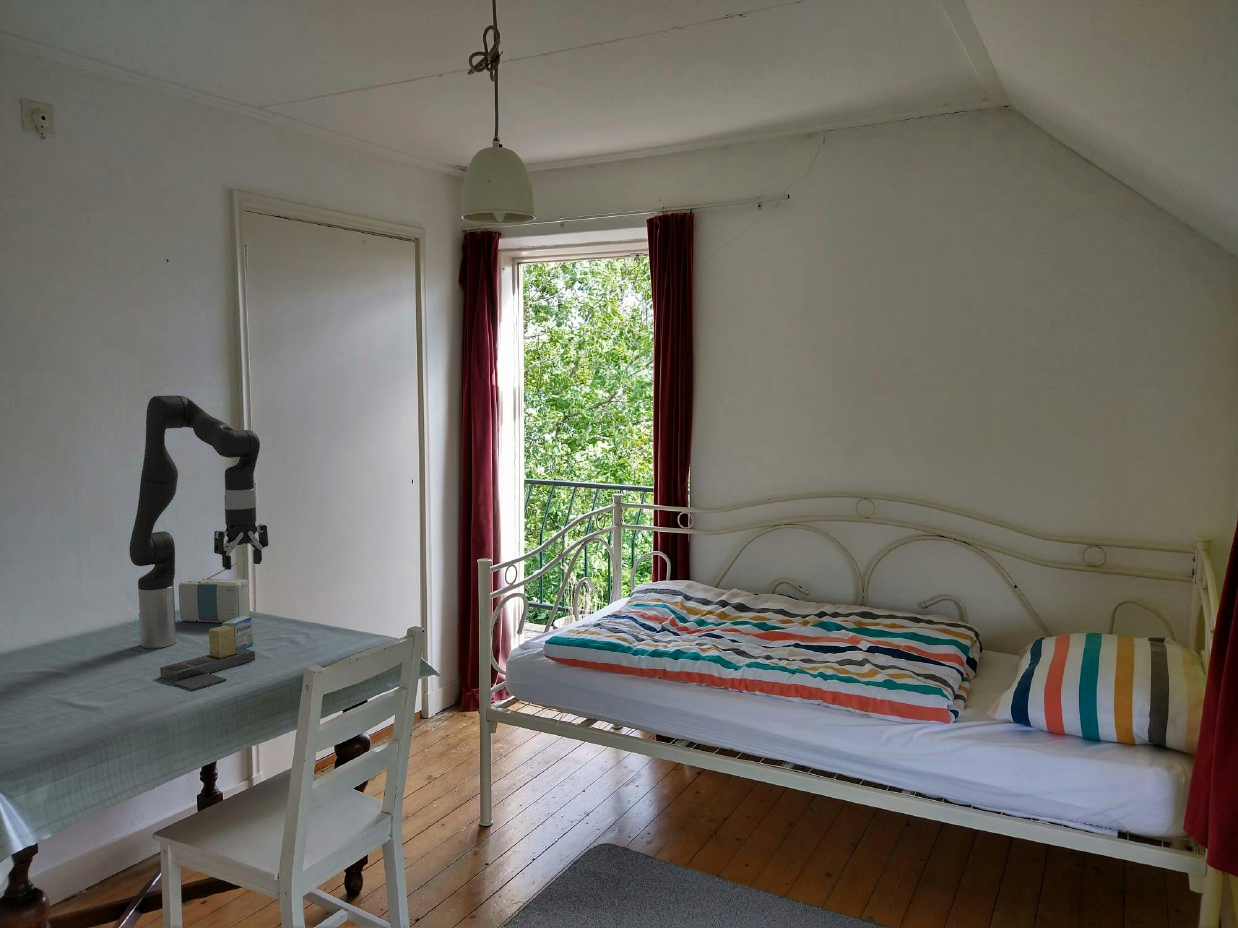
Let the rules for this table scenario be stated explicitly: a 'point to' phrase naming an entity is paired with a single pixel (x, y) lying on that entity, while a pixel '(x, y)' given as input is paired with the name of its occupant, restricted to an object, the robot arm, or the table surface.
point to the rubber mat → (199, 681)
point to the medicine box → (241, 631)
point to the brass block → (221, 642)
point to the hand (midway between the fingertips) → (242, 566)
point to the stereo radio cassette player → (213, 599)
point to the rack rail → (205, 665)
